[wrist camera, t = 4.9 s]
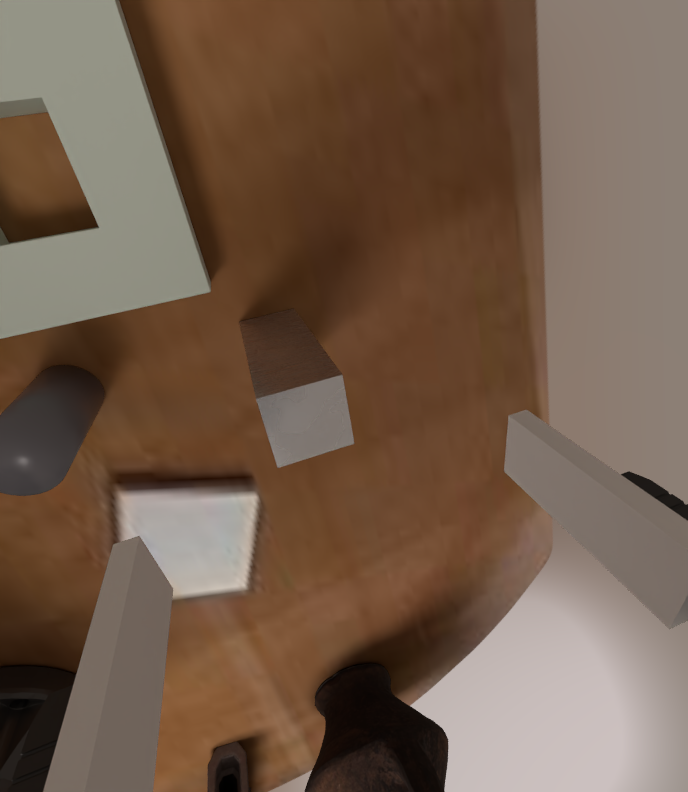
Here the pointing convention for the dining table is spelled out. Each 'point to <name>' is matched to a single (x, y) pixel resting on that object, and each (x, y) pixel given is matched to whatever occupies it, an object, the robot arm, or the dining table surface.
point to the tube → (228, 769)
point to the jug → (375, 738)
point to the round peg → (46, 429)
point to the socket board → (93, 171)
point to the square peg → (295, 388)
